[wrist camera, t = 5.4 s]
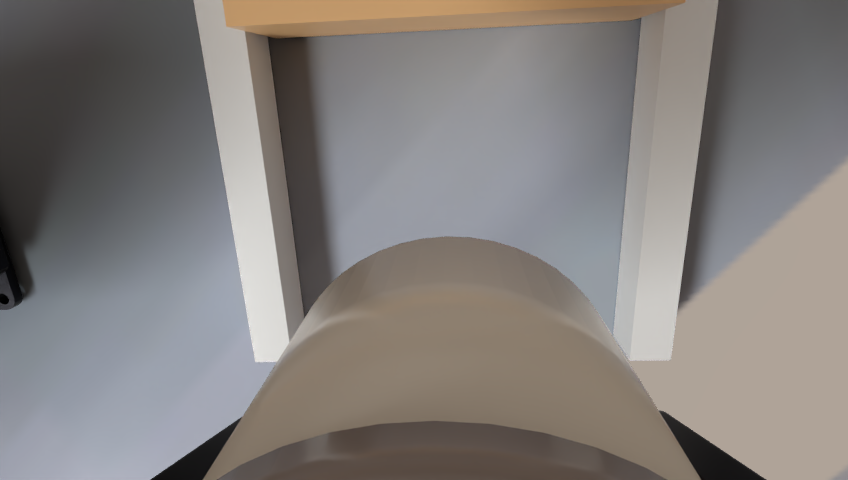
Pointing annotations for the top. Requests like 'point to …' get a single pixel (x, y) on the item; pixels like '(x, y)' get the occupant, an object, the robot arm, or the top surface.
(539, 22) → the bar
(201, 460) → the robot arm
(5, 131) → the top surface
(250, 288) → the lane
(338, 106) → the top surface
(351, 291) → the jar
